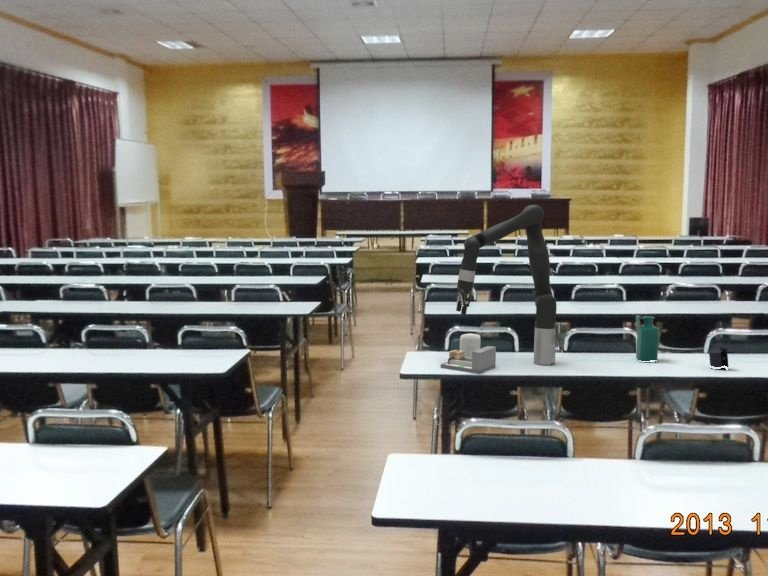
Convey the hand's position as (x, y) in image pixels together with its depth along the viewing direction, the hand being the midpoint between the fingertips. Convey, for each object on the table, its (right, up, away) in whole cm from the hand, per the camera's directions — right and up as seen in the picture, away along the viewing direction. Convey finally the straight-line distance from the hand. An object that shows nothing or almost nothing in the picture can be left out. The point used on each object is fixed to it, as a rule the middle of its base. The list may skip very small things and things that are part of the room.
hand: (460, 312), depth 336 cm
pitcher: (+90, -24, +8) cm, 94 cm away
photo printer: (+5, -23, +9) cm, 25 cm away
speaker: (+118, -26, -8) cm, 121 cm away
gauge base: (+2, -25, -9) cm, 27 cm away
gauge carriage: (-4, -23, -8) cm, 25 cm away
